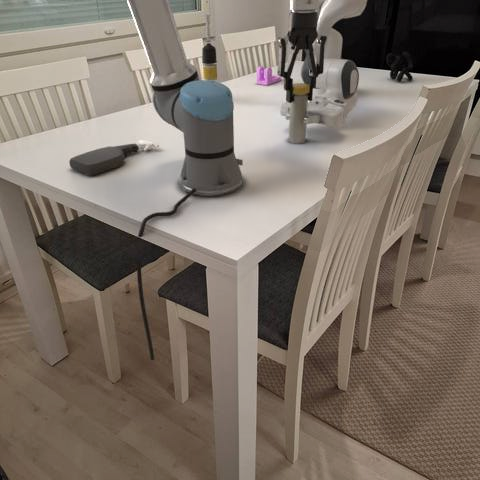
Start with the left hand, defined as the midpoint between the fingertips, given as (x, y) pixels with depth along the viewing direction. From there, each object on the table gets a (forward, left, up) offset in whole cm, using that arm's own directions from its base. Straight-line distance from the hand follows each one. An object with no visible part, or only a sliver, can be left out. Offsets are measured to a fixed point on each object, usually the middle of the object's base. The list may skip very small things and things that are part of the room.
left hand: (299, 100), depth 129 cm
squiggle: (+91, -26, -12) cm, 95 cm away
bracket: (+73, +30, -12) cm, 79 cm away
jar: (0, 0, -12) cm, 12 cm away
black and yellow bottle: (+38, +44, -12) cm, 59 cm away
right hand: (-1, 0, -5) cm, 5 cm away
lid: (0, 0, +4) cm, 4 cm away
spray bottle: (-30, +44, -12) cm, 55 cm away
